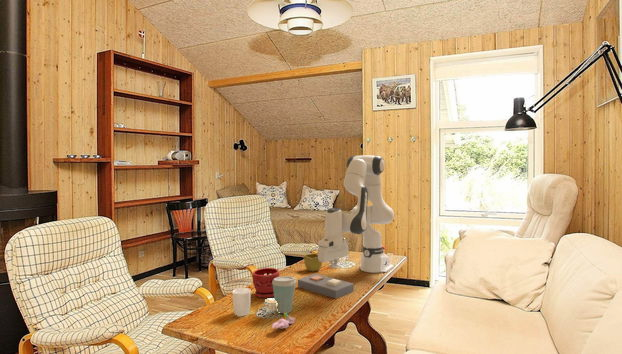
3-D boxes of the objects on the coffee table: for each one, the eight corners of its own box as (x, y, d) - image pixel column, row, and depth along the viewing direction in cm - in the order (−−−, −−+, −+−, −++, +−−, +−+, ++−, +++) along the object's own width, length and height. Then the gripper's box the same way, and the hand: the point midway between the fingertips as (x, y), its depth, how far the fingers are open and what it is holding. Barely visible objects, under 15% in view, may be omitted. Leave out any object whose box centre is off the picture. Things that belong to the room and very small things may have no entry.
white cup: (235, 309, 167) (234, 287, 167) (252, 309, 167) (252, 287, 167) (230, 317, 159) (230, 293, 159) (249, 317, 159) (248, 293, 159)
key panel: (315, 280, 208) (315, 273, 208) (353, 291, 190) (353, 283, 190) (297, 286, 198) (297, 279, 198) (335, 298, 180) (335, 290, 180)
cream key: (333, 284, 193) (333, 278, 193) (341, 286, 190) (341, 280, 190) (327, 286, 190) (327, 281, 190) (334, 289, 186) (334, 283, 186)
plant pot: (265, 288, 195) (265, 266, 195) (284, 293, 188) (284, 270, 187) (247, 296, 184) (246, 272, 184) (267, 301, 177) (266, 276, 176)
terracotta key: (316, 281, 202) (316, 275, 201) (323, 283, 198) (323, 277, 198) (309, 283, 198) (309, 277, 198) (316, 285, 194) (316, 279, 194)
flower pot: (323, 270, 227) (323, 256, 227) (311, 273, 222) (311, 258, 222) (315, 267, 234) (314, 253, 234) (303, 269, 230) (303, 255, 229)
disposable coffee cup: (267, 310, 166) (267, 277, 166) (287, 304, 173) (287, 272, 172) (280, 318, 158) (280, 282, 157) (301, 312, 164) (301, 278, 164)
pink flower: (285, 323, 156) (266, 331, 143) (287, 308, 157) (267, 315, 144) (299, 325, 154) (280, 334, 140) (300, 310, 154) (281, 318, 141)
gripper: (341, 236, 199) (341, 262, 199) (315, 242, 184) (315, 270, 184) (351, 238, 194) (351, 264, 195) (325, 244, 179) (325, 273, 180)
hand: (333, 267), depth 189 cm, fingers closed
